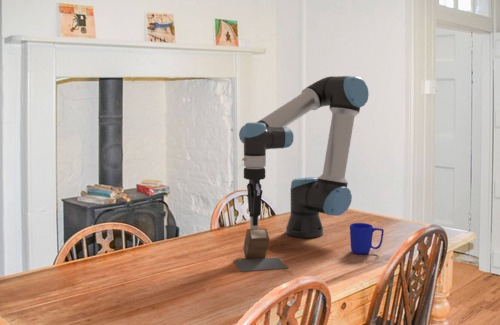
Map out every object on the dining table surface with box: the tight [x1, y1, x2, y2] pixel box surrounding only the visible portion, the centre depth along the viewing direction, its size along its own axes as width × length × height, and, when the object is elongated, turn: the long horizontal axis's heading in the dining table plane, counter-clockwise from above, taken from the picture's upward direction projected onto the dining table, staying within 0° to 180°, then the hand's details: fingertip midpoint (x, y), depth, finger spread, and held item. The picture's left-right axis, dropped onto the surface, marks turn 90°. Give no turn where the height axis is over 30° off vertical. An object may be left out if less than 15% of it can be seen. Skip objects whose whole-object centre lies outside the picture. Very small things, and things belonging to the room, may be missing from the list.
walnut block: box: [242, 227, 270, 259], centre depth 200 cm, size 5×7×10 cm
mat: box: [233, 256, 289, 273], centre depth 195 cm, size 12×16×1 cm
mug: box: [349, 222, 384, 255], centre depth 209 cm, size 8×12×10 cm
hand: (254, 233), depth 202 cm, fingers closed
